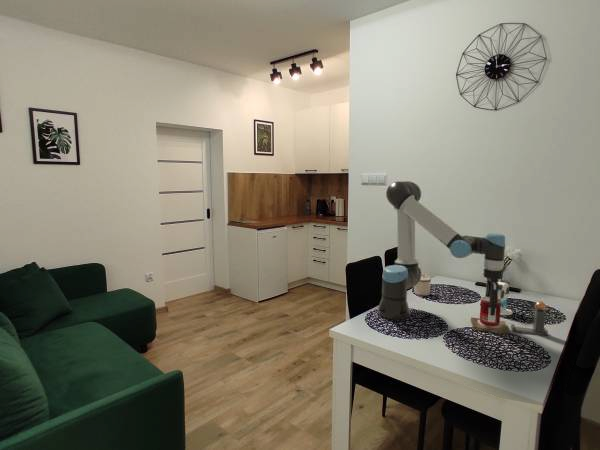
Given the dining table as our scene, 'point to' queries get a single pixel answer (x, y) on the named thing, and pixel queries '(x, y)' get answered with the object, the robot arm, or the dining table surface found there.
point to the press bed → (480, 326)
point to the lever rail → (528, 330)
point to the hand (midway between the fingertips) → (489, 317)
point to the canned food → (485, 311)
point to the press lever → (539, 317)
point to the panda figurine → (504, 296)
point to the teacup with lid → (423, 286)
